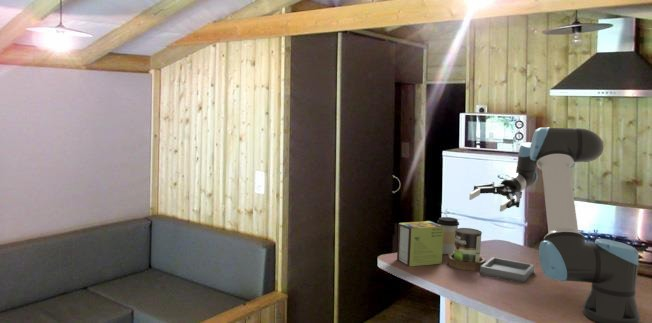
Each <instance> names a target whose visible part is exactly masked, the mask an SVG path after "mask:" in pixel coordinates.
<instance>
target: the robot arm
mask: <svg viewBox="0 0 652 323" xmlns="http://www.w3.org/2000/svg"><path fill="white" fill-rule="evenodd" d="M601 138H602V137H600V136H599V135H598V134H597V133H595V132H594V131H593V130H589V129H586V128H577V127H576V128H571V127H570V128H569V127H567V128H565V127H550V126H548V127H538V128H536V129H535V130H534V132H533V134H532V138H531V142H523V143H521V144H520V146H519V149H518V157H517V164H516V165H517V166H516V169H515V171H516V172H515V173H514V174H512V175H510V176H508V177H507V178H505V179H504V180H502V181H501V183H500V184H495V182H494V181H490V182H487V183H481V184H474V185H473V190H472V191H471V192H470V193H469V200H470V201H471V200H473V199H475V198H476V197H479V196H480V195H481V194H493V195H501V196H503V197H506V199H507V200H506V201H504V202H503V203H501V204H500V207H499V212H500V213H501V212H504V211H505V210H507V209H510V208H512V207H516V208H519V207H520V202H521V199H522V196H523V191H524V190H525V189H527V188H529V187H531V186H533V185H534V184H535V183H536V182H537V181H538V178H539V174H538V171H537V170H536V168H538V169H539V170H540V171H541V172H542V173H541V174H542V183H543V193H544V201H545V211H546V213H545V214H546V223H547V231H548V232H547V234H545V236H544V237H543V240H542V241H541V242H540V243H539V246H538V253H539V254H538V258H539V263H540V268H541V270H542V273H543V274H544V276H545V277H547V278H548V279H551V280H555V281H560V282H577V283H578V282H579V283H589V284H591V287H590V291H589V292H588V295H587V297H586V299H585V300H584V303H583V305H582V314H583V315H584V317H587V318H588V319H590V320H592V321H595V322H597V323H640V321H641V315H640V311H639V310H640V309H639V306H638V303H637V298H636V292H637V281H638V280H637V279H638V272H639V271H638V270H639V266H640V262H639V251H638V250H637V248H635V247H634V246H631V245H629V244H627V243H623V242H619V241H616V240H611V239H606V238H596V239H595V241H594V243H586V238H585V235H584V234H583V233H581V232H580V231H579V227H578V219H577V212H576V205H575V197H574V190H573V181H572V174H571V169H572V168H573V167H574V166H575V165H576V164H577V163H590V162H593V161H595V160H597V159H598V158H600V157H601V155H602V154H603V152H604V142H603V139H601ZM515 197H516V198H515Z"/></svg>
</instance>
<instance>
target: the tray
mask: <svg viewBox="0 0 652 323" xmlns="http://www.w3.org/2000/svg"><path fill="white" fill-rule="evenodd" d="M534 271H535V264H532V263H526V262H522V261H517V260H510V259H504V258H499V257H493V256H492V257H490V258H489V259H488V260H487V261H486V263H484V264H483V265H482V266H480V270H479V274H480V275H482V276H487V275H488V277H492V276H493V278H497V277H498V278H497V279H502V280H507V281H511V280H512V282H516V283H517V282H518V283H522V284H525V282H527V280H528V279H529V278H530V277H531V276H532V275H533V274H534Z"/></svg>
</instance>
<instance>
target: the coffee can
mask: <svg viewBox="0 0 652 323" xmlns="http://www.w3.org/2000/svg"><path fill="white" fill-rule="evenodd" d="M482 234H483V232H482V231H481V230H480V229H476V228H471V227H458V228H457V229H455V247H454V259H456V260H459V261H464V262H479V261H480V256H481V246H482V245H481V244H482Z"/></svg>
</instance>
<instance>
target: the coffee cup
mask: <svg viewBox="0 0 652 323" xmlns="http://www.w3.org/2000/svg"><path fill="white" fill-rule="evenodd" d="M458 220H459V219H457V218H455V217H449V216H442V217H439V218H438V220H437V221H436V224H439V225H441V226H444V230H443V249H442V255H446V254H448V255H450V254H452V253H454V248H455V229H457V228H459V225H460V222H459V221H458Z"/></svg>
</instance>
